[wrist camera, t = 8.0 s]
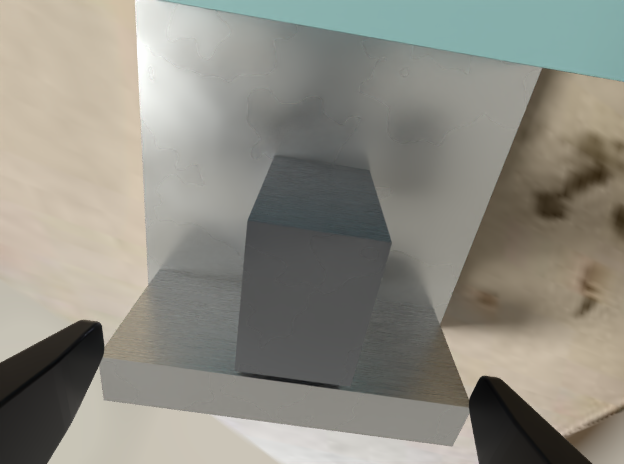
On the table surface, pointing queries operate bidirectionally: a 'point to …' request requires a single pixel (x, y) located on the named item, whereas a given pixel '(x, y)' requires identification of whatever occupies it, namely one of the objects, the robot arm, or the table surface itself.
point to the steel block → (310, 272)
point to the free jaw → (467, 27)
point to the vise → (321, 148)
